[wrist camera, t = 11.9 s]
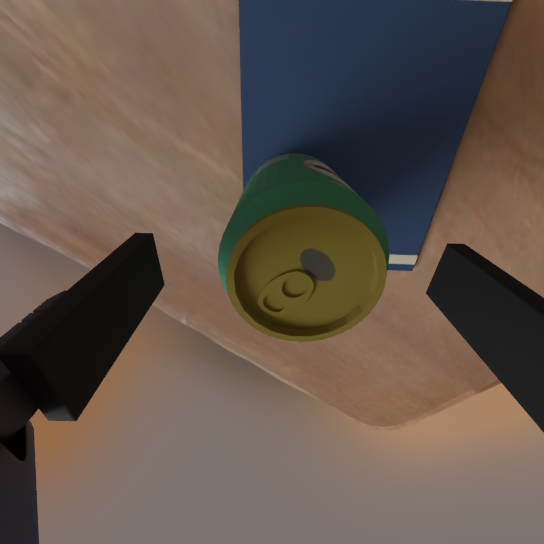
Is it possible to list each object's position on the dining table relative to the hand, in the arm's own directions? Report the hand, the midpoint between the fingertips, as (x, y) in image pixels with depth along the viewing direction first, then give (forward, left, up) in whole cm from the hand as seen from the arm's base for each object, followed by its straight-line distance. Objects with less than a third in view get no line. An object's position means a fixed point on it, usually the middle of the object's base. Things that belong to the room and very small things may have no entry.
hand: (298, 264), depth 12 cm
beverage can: (0, 0, -11) cm, 11 cm away
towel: (-4, +4, -11) cm, 13 cm away
